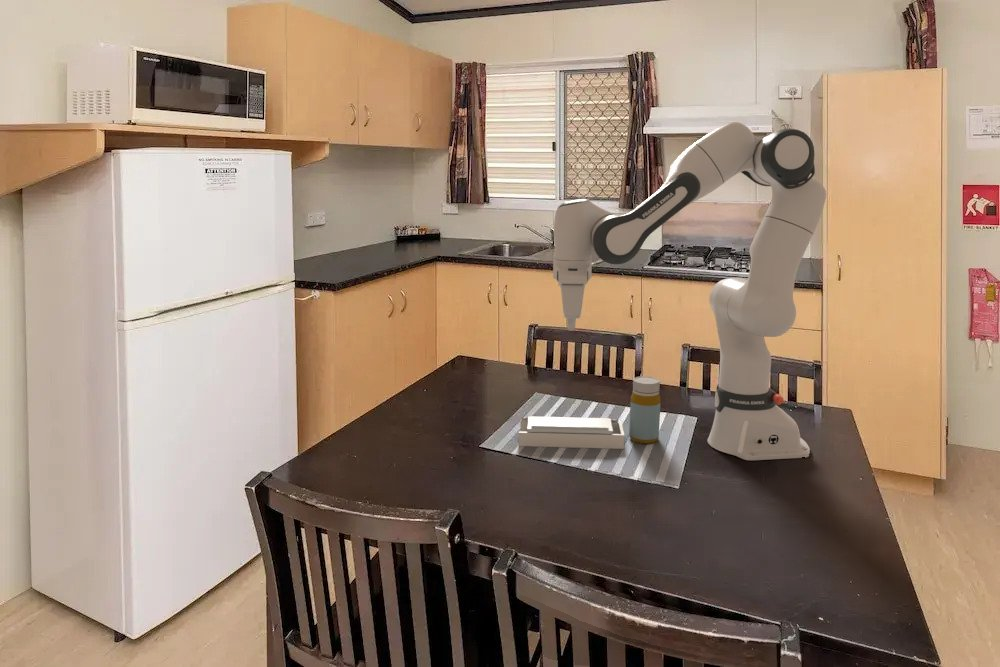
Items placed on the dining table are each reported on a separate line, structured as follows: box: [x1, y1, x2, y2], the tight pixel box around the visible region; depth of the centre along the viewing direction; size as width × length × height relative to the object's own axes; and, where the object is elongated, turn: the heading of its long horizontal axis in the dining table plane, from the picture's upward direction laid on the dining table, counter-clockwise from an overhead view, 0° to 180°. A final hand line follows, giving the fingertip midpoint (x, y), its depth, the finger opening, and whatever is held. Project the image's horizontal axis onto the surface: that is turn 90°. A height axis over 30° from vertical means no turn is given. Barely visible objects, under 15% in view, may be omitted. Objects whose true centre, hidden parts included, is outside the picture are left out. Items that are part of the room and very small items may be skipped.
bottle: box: [628, 375, 662, 445], centre depth 168 cm, size 7×7×15 cm
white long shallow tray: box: [518, 416, 625, 450], centre depth 169 cm, size 25×9×4 cm, turn 85°
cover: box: [527, 415, 613, 434], centre depth 168 cm, size 20×8×1 cm, turn 85°
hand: (571, 329), depth 165 cm, fingers closed
